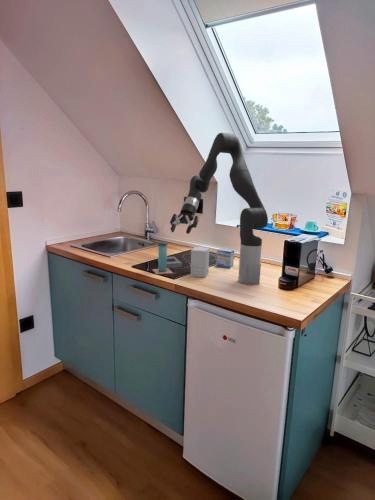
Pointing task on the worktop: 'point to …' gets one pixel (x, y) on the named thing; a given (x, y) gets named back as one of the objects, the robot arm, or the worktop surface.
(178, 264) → the grey base plate
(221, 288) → the worktop surface
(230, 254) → the medicine box
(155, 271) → the coaster
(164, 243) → the plug
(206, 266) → the supplement box
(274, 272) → the worktop surface
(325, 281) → the worktop surface
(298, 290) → the worktop surface
